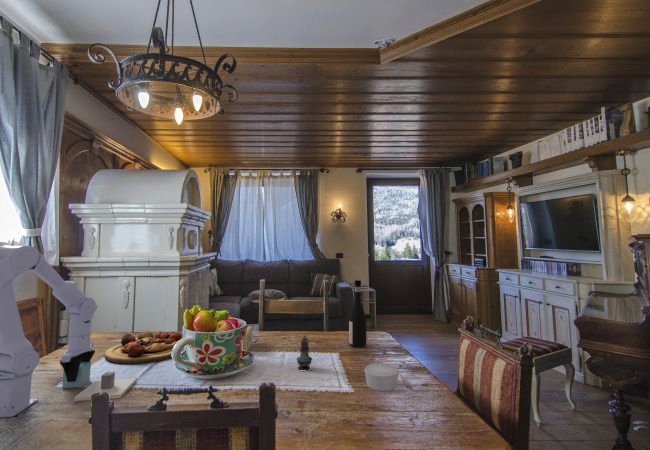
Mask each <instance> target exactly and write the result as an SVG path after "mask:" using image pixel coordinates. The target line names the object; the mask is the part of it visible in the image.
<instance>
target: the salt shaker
mask: <svg viewBox="0 0 650 450" xmlns="http://www.w3.org/2000/svg"><path fill="white" fill-rule="evenodd" d="M299 349H300V354H299V356H297V357H296V361H297V364H298V365H299V366H297V368H298V369H299V370H306V371H305V372H308V371H307V370H309V369H310V367H311V366H310V365H311V363H312V361H313V358H312V357H311V356H310V355H309V352H310V351H309V350H310V347H309V339H308V338H307V337H306V335H304V336H303V338H301V339H300V348H299ZM299 370H298V371H299ZM309 371H310V370H309Z"/></svg>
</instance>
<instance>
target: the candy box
mask: <svg viewBox="0 0 650 450" xmlns="http://www.w3.org/2000/svg"><path fill="white" fill-rule="evenodd" d="M246 330H247V333H246V337H245V341H244V345H243V350H245V351H248V350H250V349H251V347H252V345H253V325H248V326H247V328H246ZM246 330H245V331H246ZM251 344H252V345H251ZM250 346H251V347H250ZM248 352H249V351H248Z"/></svg>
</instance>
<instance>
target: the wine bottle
mask: <svg viewBox="0 0 650 450" xmlns="http://www.w3.org/2000/svg"><path fill="white" fill-rule="evenodd" d="M361 289H362V280H357V279H356V280H354V303H353V306H352V309H351V311H350V313H349V318H348V319H349V320H348V321H349V322H348V344H349V346H350V347H351V348H355V347H362V348H365V347H366V346H367V317H366V313H365V311H364V310H365V309H364V308H363V304H362V300H361V299H362V298H361V294H362V293H361V292H362V291H361ZM364 346H365V347H364Z"/></svg>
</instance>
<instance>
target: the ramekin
mask: <svg viewBox="0 0 650 450" xmlns="http://www.w3.org/2000/svg"><path fill="white" fill-rule="evenodd" d="M363 372H364V374H365V380H366V384H367V386H368V387H369V389H371V390H374V391H378V392H391V391H393V390H395V389H396V388H397V386H398V380H399V375H400V370H399V369H398V368H397V367H396V366H394V365H391V364H387V363H371V364H368V365H366V366H365V367H364V371H363Z"/></svg>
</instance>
